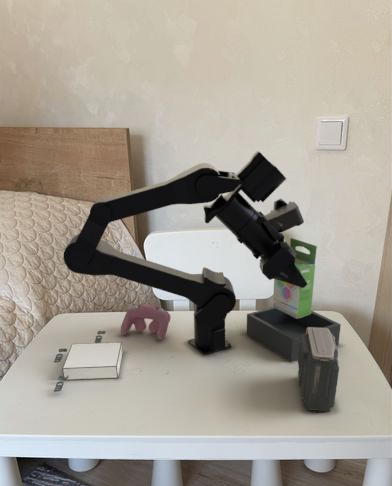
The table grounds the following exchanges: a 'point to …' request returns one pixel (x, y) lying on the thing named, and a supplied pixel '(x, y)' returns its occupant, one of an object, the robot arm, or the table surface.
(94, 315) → the table surface
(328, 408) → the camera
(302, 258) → the ink box
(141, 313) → the video game controller
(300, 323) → the bin
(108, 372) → the container
